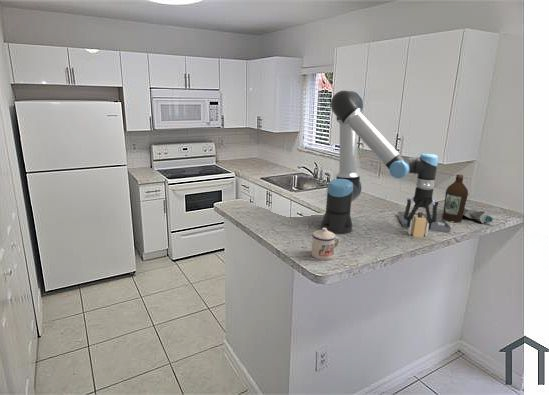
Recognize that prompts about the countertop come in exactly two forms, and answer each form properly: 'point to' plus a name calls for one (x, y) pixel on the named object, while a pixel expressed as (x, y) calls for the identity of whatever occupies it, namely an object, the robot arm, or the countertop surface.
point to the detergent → (477, 215)
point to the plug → (418, 225)
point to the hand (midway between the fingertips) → (417, 234)
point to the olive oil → (455, 200)
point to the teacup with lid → (323, 244)
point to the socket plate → (435, 226)
